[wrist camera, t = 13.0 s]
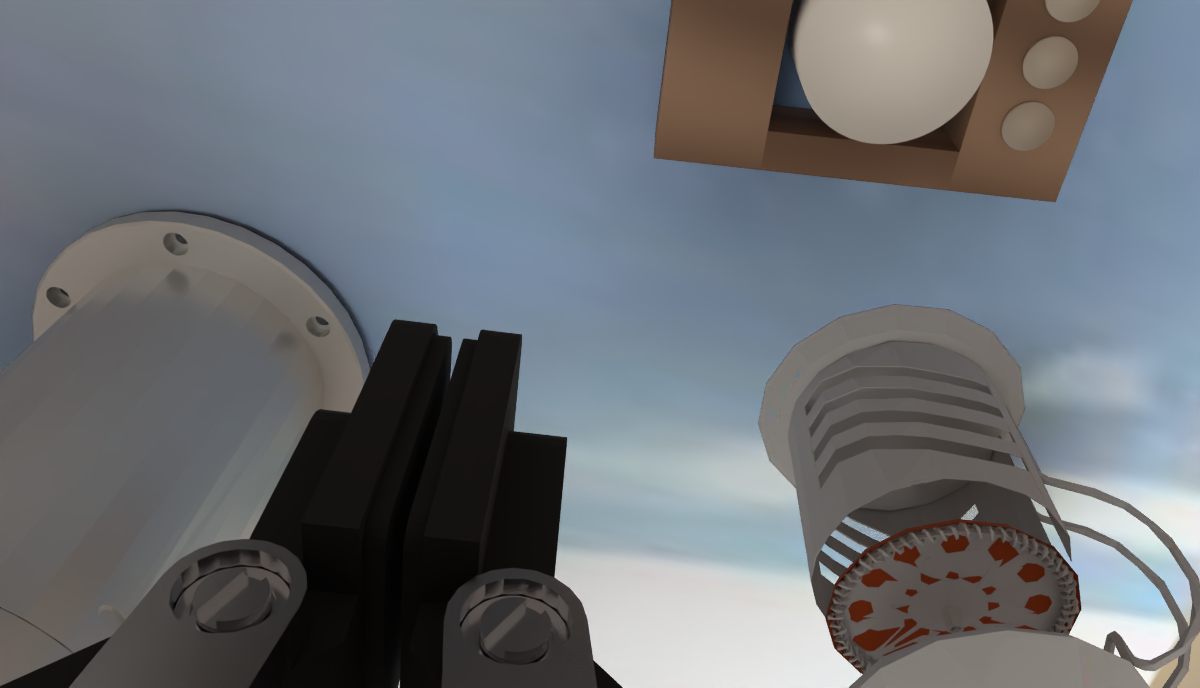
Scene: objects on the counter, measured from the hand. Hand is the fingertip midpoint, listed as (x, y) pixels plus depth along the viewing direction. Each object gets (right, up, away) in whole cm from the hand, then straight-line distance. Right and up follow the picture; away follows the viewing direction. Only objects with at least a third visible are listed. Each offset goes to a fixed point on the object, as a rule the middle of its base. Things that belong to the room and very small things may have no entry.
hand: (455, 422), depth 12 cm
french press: (+14, -2, +23) cm, 27 cm away
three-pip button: (+10, +10, +15) cm, 21 cm away
